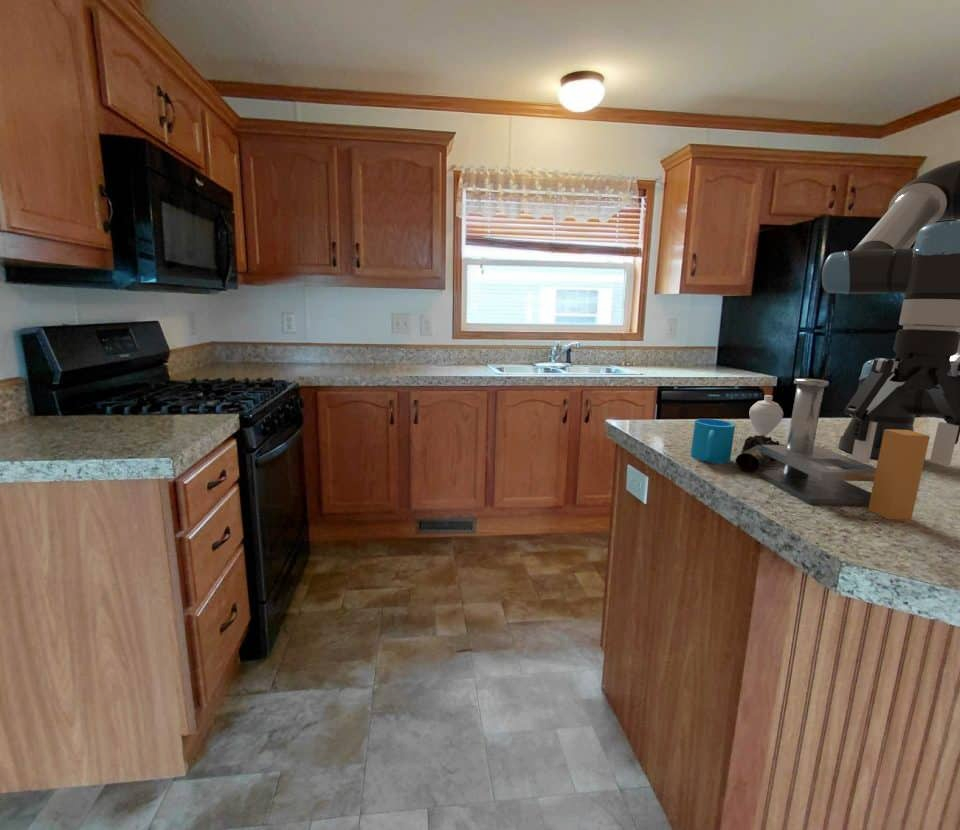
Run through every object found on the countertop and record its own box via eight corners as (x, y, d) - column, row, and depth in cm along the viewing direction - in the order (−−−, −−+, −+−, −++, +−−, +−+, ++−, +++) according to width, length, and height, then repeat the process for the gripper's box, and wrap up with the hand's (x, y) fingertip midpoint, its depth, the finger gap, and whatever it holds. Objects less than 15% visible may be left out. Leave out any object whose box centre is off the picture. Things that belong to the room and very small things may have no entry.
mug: (692, 451, 120) (696, 417, 118) (730, 456, 116) (735, 422, 114) (686, 463, 109) (690, 426, 108) (728, 470, 105) (733, 432, 104)
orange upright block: (890, 509, 86) (907, 429, 83) (911, 519, 82) (929, 435, 79) (868, 509, 86) (884, 429, 83) (887, 519, 82) (905, 435, 79)
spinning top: (785, 444, 129) (793, 397, 127) (760, 444, 128) (767, 398, 125) (763, 436, 137) (770, 392, 134) (738, 437, 135) (745, 392, 132)
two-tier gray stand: (817, 474, 105) (834, 379, 101) (888, 506, 88) (912, 393, 84) (752, 472, 104) (766, 377, 100) (811, 505, 87) (831, 391, 83)
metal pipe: (759, 476, 103) (762, 449, 102) (724, 469, 107) (727, 443, 106) (782, 460, 115) (786, 435, 114) (750, 453, 120) (753, 430, 119)
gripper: (980, 331, 82) (950, 457, 86) (833, 324, 81) (810, 452, 85) (1031, 333, 75) (996, 471, 79) (871, 325, 73) (844, 466, 78)
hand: (900, 461), depth 82 cm, fingers open, 13 cm apart
